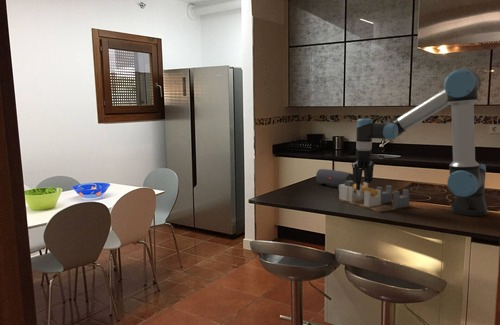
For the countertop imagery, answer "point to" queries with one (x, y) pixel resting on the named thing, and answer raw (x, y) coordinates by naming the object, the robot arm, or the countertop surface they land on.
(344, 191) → the clips
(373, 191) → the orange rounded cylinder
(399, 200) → the grey cradle stand
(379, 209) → the clip rail
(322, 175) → the bluetooth speaker
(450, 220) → the countertop surface
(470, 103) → the robot arm
